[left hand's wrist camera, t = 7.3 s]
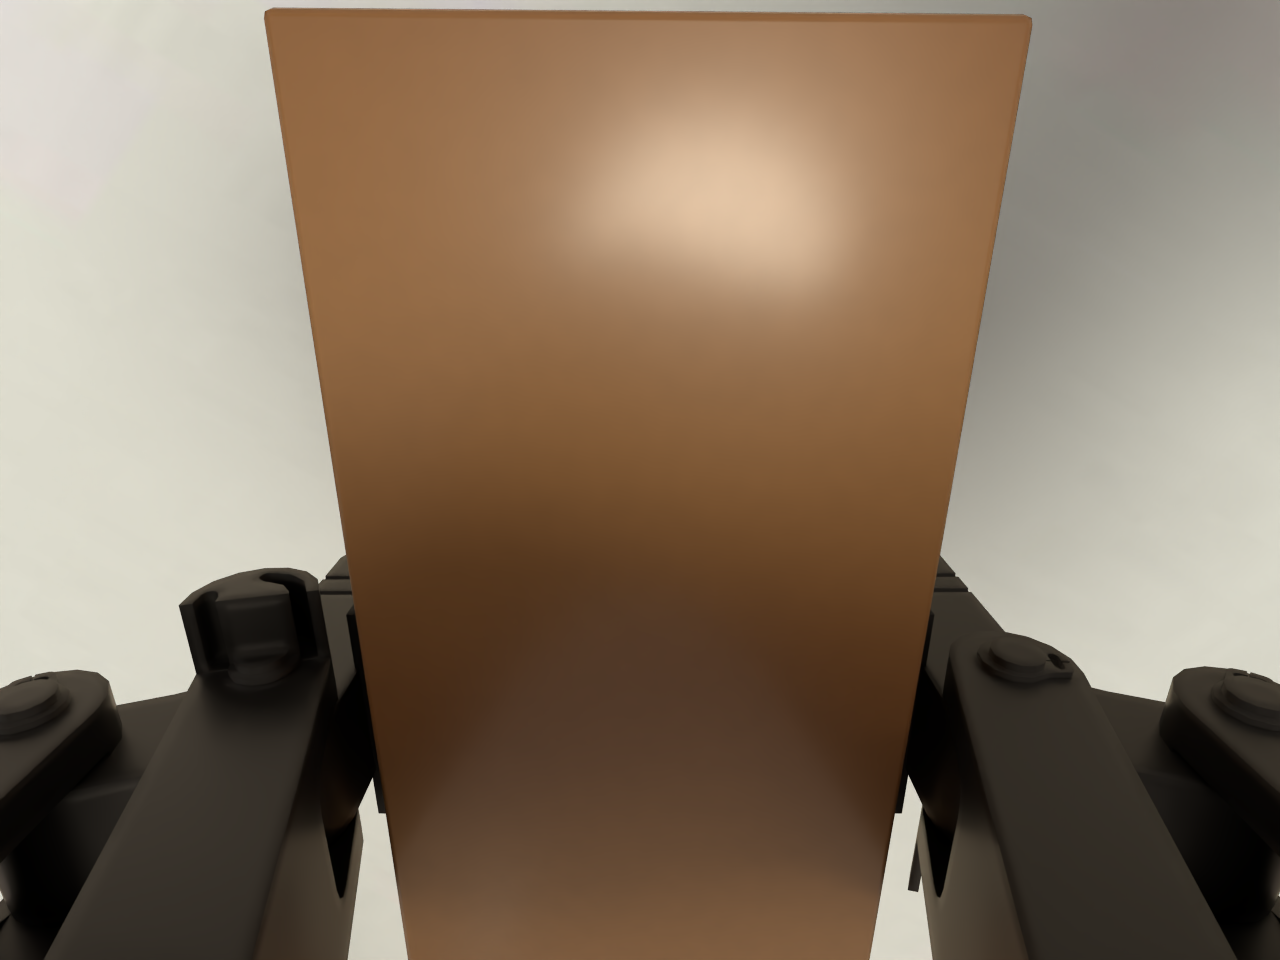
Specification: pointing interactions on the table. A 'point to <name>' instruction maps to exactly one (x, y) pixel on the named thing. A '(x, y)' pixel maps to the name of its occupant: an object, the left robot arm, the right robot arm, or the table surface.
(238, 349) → the table surface
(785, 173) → the bar
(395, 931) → the table surface
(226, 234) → the table surface
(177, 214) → the table surface
